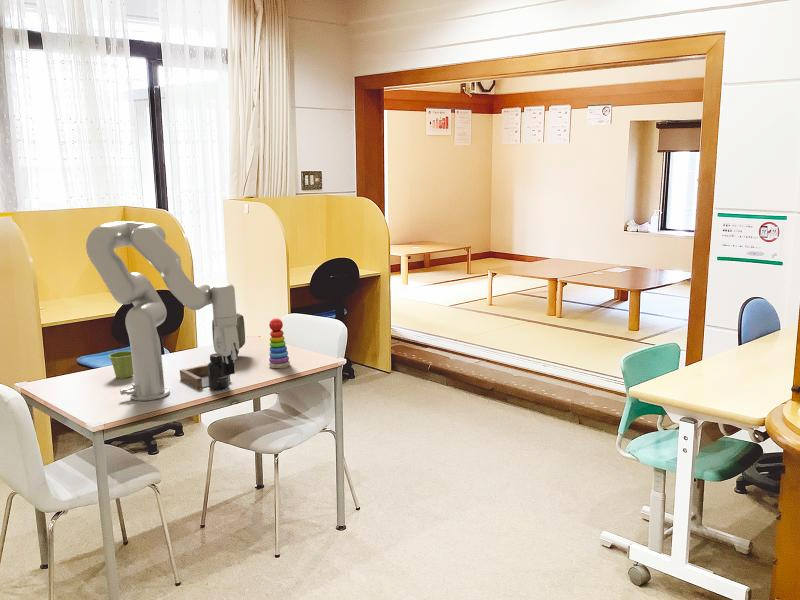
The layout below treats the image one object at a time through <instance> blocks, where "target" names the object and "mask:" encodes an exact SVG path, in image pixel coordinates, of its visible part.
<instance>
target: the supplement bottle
mask: <svg viewBox="0 0 800 600" xmlns="http://www.w3.org/2000/svg"><path fill="white" fill-rule="evenodd" d="M209 361H210V362H208V379H209V387H208V389H210V390H211V391H222V390H223V389H224V390H227V389H228V388H229V386H230V382H229V377H228V375H225V374H224V368H223V361H222V356H221V355H220V354H218V353H216V352H215V353H212V354H210V355H209ZM226 388H227V389H226Z"/></svg>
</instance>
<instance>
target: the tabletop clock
mask: <svg viewBox="0 0 800 600" xmlns="http://www.w3.org/2000/svg"><path fill="white" fill-rule="evenodd" d="M236 315H237V325H236V328H237V334H238V341H239V350H240V349H242V348H243V346H244V345H245V344H246V327H245V318H244V315H242V314H240V313H237V312H236ZM211 323H212V324H211V328H212V329H211V332H212V343H213V345H214V318H213V319H212V322H211ZM236 357H237V359H238V357H239V353H238V354H237V355H236Z"/></svg>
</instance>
